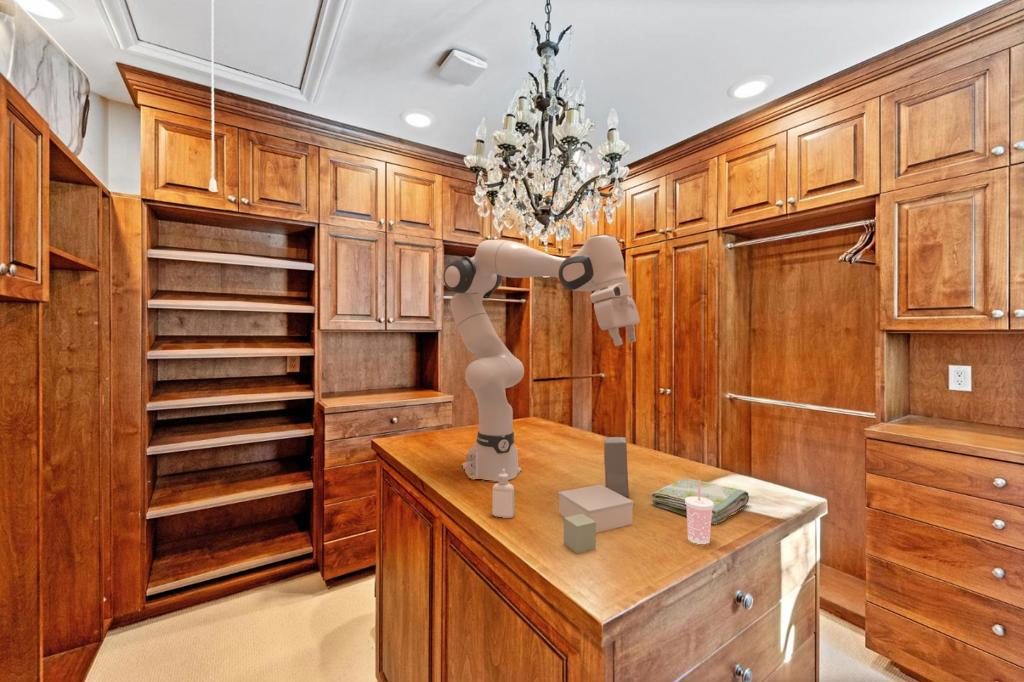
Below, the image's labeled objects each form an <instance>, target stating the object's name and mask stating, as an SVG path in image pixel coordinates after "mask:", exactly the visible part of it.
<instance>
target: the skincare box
mask: <svg viewBox="0 0 1024 682" xmlns="http://www.w3.org/2000/svg"><path fill="white" fill-rule="evenodd" d="M603 440H604V441H603V442H604V449H603V451H604V452H603V458H604V459H603V461H604V462H603V463H604V481H605V487H606V488H608V489H610V490H612V491H614V492H616V493H618V494H620V495H622V496H624V497H626V498H628V499H629V497H630V494H629V493H630V492H629V476H628V474H629V472H628V450H627V449H628V445H627V439H626V437H623V436H615V437H614V436H610V437H609V436H605V437H604V438H603Z"/></svg>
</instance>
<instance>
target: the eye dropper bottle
mask: <svg viewBox="0 0 1024 682" xmlns="http://www.w3.org/2000/svg"><path fill="white" fill-rule="evenodd" d="M491 493H492V498H491V499H492V501H491V502H492V503H491V508H492V509H491V511H492V512H491V514H492V516H493V515H494V516H498V517H503V518H502V519H512V518H514V516H515V500H516V499H515V495H516V494H515V486H514V485H513V484H511V483H510V482H509V480H508V474H506V473H505V469H502V473H501V474H499V481H498V482H497V483H495V484H494V485H493V486H492V491H491ZM494 516H493V517H494Z"/></svg>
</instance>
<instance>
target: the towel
mask: <svg viewBox="0 0 1024 682" xmlns="http://www.w3.org/2000/svg"><path fill="white" fill-rule="evenodd" d="M650 497H651V498H652V501H651V502H652V505H653V506H655V507H656V506H657V508H661V509H664V510H668V511H671V512H674V513H677V514H679V515H682V516H686V517H687V508H686V504H685V498H687V497H698V480H697V479H692V478H683V479H679V480H677V481H676V482H673V483H670V484H668V485H666V486H663V487H662V488H660V489H658V490H655V491H653V492H652V493H651V494H650ZM700 497H703V498H707V499H709V500H711V501H712V502H713V503H714V506H713V507H714V508H713V509H712V519H711V524H716V523H718V524H720V523H721V522H720V521H722V520H723V521H725V520H726V519H725V518H727V517H728V516H729V515H731V514H732V513H734V512H736V511H738V510H740V509H742V508H743V509H744V508H745V507H746V506H747V504H748V503H749V499H750V496H749V492H747V491H746V490H743V489H740V488H735V487H729V486H724V485H721V484H716V483H710V482H707V481H703V480H702V481H701V491H700ZM743 509H742V510H743ZM740 511H741V510H740ZM728 518H729V517H728ZM728 518H727V519H728ZM724 519H725V520H724ZM723 521H722V522H723ZM719 522H720V523H719ZM716 525H717V524H716Z"/></svg>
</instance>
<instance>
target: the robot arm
mask: <svg viewBox="0 0 1024 682" xmlns="http://www.w3.org/2000/svg"><path fill="white" fill-rule="evenodd" d="M503 277H506V278H515V279H518V278H519V279H520V278H521V279H524V278H537V277H538V278H539V277H551V278H557V279H559V282H560V284H561V285H562V287H563V288H565V289H566V290H569V291H573V292H593V293H591V294H590V296H589V298H590V301H591V303H592V304H593V309H594V313H595V316H596V321H597V324H598V326H599V328H600V330H602V331H606V330H607V331H608V333H609V336H610V337H611V338H612V340H613V341H612V342H613V344H614V346H615V347H618V346H622V345H623V344H624V342H623V338H622V337H621V336H620V333H619V332H620V330H619V328H625V331H626V333H627V336H626V339H627V342H628V343H629V344H631V343H634V342H636V341H637V339H636V326H635V325H638V324H640V321H641V320H640V314H639V311H638V308H637V304H636V302H635V300H634V298H631V296H632V295H633V294H632V290H631V286H630V282H629V278H628V275H627V274H626V271H625V261H624V257H623V254H622V249H621V248H620V244H619V241H618V240H617V238H616V237H615V236H613V235H611V234H596V235H595V234H594V235H592V236H590V237H589V236H588V238H587V239H586V240H585V242H584V244H583V245H582V246H581V247H580V249H578V250H577V251H575V253H574V254H572V255H571V256H569V257H568V258H567V257H566V258H565V257H561V256H556V255H555V256H554V255H551V254H548V253H547V252H543V251H540V250H538V249H536V248H533V247H531V246H529V245H525V244H522V243H520V242H517V241H513V240H507V239H487V240H483V241H481V242H480V243H479V244H478V246H477V248H476V249H475V254H474V255H473V256H472V257H469V256H468V255H466V256H463V257H461V258H459V259H456V260H453V261H452V262H449V263H448V264H447V266H445V268H444V271H443V283H444V285H445V287H446V288H447V289H448V290H449V291H451V292H453V293H455V294H454V295H453V296H452V298H451V299H450V302H449V305H450V310H451V313H452V317H453V321H454V323H455V325H456V326H455V327H456V328H457V331H458V332H459V335H460V337H461V339H462V342H463V344H464V346H465V348H466V350H467V351H469V352H470V353H472V354H473V355H475V357H476V358H477V359H476V360H474V361H472V362H471V363H469V364H468V365H467V367H466V369H465V373H464V377H465V379H464V380H465V382H466V384H467V386H468V388H470V389H471V390H472V392H473V394H474V396H475V399H476V402H477V407H478V431H477V435H476V443H475V444H474V445H473V446H472V447H471V448H470V449H469V451H468V453H466V455H465V458H466V461H464V462H463V463H461V466H462V465H463V467H464V469H465V470H466V472H467V474H468V476H469V477H472V478H481V479H486V480H494V481H493V482H499V474H501V473H502V469H505V473H506V474H508V481H510V480H514V479H515V478H517V476H518V475H519V474H520V473H521V472H522V467H520V466H519V459H518V457H519V456H518V455H519V454H518V448H517V446H516V445H515V444H514V443H515V432H514V431H513V429H514V427H513V426H514V425H513V423H514V421H513V419H514V416H513V415H514V410H513V407H512V405H511V404H509V402H508V399H507V398H508V397H507V396H506V389H508V388H512V387H514V386H515V385H517V384H519V383H520V382H521V381H522V379H523V378H524V375H525V368H524V364H523V362H522V361H521V360H520V359H518V358H517V357H516V356H515V355H514V354H512V352H511V351H510V350H509V349H508V347H507V346H506V345H505V344H504V342H503V341H502V339H501V338H500V337H499V335H498V334H497V332H496V329H495V327H494V326H493V323H492V322H491V319H490V317H489V315H488V313H487V311H486V309H485V307H484V305H483V300H484V299H488V298H490V297H491V295H492V294H493V293H494V292H495V291H496V290H498V288H499V286H500V285H501V283H502V278H503ZM464 469H463V470H464ZM520 471H521V472H520ZM517 474H518V475H517ZM468 476H467V477H468Z"/></svg>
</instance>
